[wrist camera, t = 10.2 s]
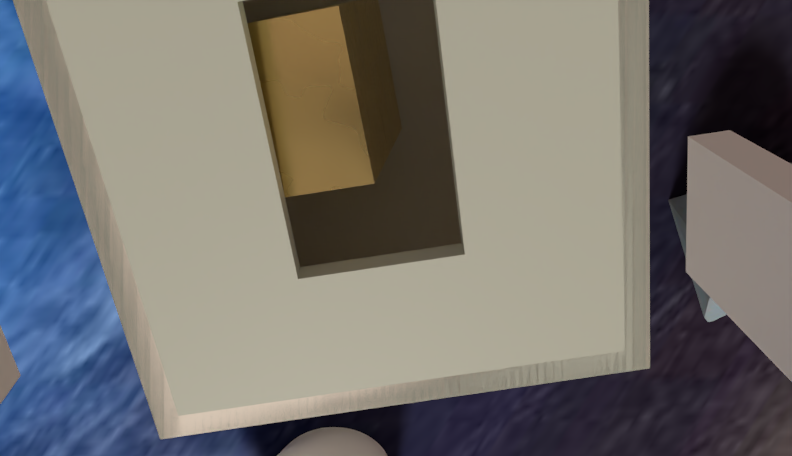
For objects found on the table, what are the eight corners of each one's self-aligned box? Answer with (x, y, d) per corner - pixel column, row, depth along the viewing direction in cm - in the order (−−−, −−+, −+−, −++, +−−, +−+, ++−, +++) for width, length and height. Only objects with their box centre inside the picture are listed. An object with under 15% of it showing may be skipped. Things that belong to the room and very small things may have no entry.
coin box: (215, 293, 33) (160, 439, 24) (94, -154, 26) (-51, -189, 17) (568, 240, 33) (650, 368, 24) (544, -224, 26) (647, -298, 17)
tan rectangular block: (327, 140, 29) (275, 199, 22) (300, 11, 28) (232, 26, 20) (401, 128, 29) (374, 183, 21) (377, -4, 27) (338, 5, 20)
